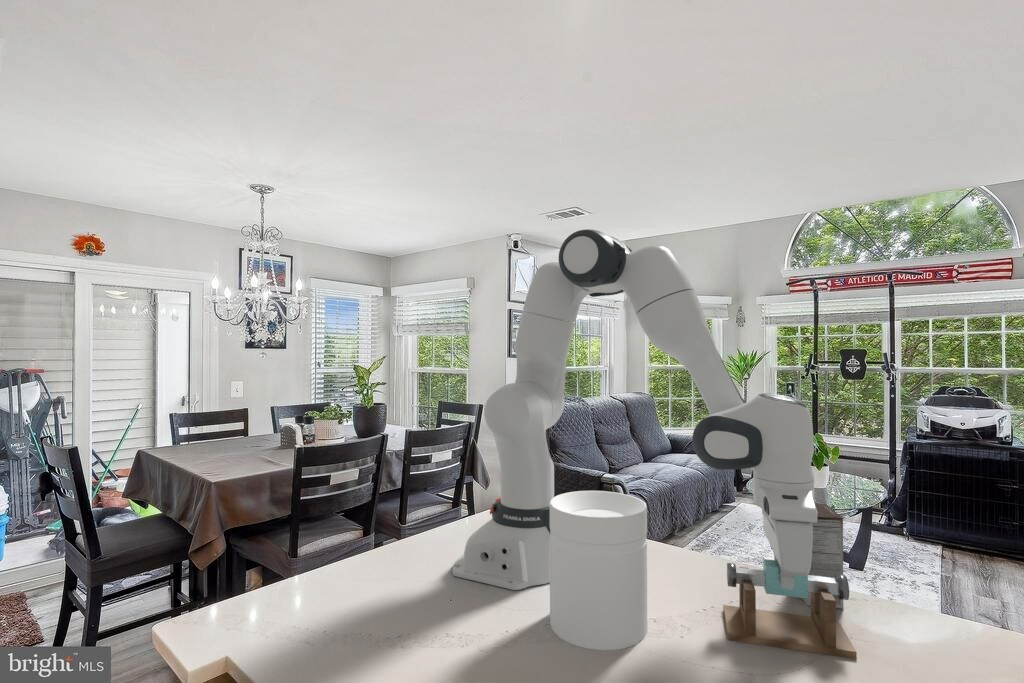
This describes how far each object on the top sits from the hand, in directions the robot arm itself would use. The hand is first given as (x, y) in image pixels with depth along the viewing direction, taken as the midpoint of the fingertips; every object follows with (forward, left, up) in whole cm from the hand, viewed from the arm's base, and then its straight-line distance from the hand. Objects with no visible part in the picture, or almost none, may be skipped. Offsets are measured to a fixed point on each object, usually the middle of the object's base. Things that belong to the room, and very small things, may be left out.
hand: (784, 581), depth 87 cm
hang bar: (0, 0, -2) cm, 2 cm away
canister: (-29, -6, -8) cm, 31 cm away
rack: (0, 0, -8) cm, 8 cm away
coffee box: (+8, +16, -8) cm, 20 cm away
